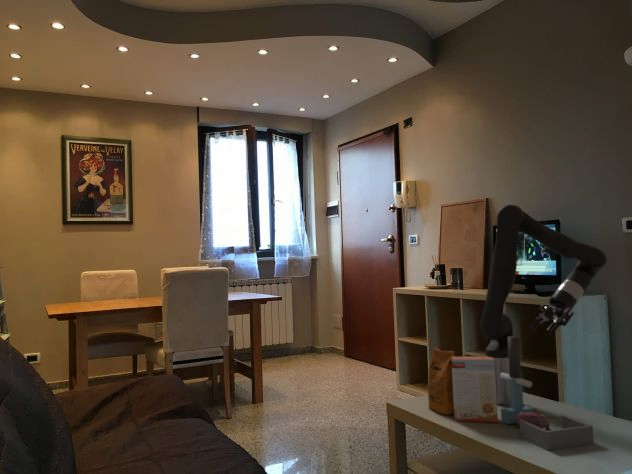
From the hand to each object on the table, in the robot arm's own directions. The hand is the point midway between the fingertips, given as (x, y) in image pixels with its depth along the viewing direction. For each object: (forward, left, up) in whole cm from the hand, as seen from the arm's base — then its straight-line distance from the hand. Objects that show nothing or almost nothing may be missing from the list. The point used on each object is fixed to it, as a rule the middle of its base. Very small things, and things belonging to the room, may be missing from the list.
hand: (540, 331), depth 169 cm
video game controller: (+7, -10, -30) cm, 32 cm away
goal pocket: (+17, -10, -29) cm, 35 cm away
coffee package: (-21, -25, -30) cm, 44 cm away
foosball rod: (0, -10, -29) cm, 31 cm away
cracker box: (-8, -21, -30) cm, 37 cm away
